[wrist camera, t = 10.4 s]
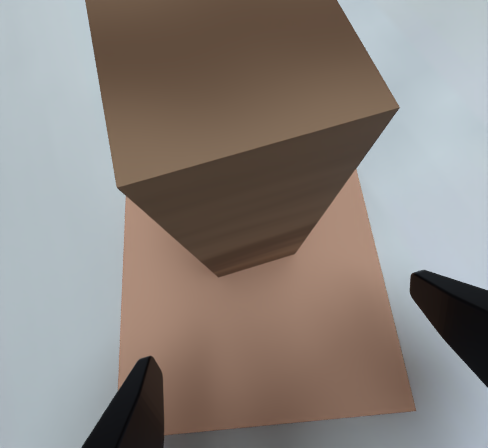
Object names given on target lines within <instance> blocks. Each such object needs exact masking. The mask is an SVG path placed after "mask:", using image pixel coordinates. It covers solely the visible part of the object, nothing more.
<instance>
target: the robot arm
mask: <svg viewBox="0 0 488 448" xmlns="http://www.w3.org/2000/svg"><path fill="white" fill-rule="evenodd" d="M410 294H411V297H412V298H413V300H414V301H415V302H416V304H417V305H418V306H419V308H420V309H421V310H422V312H423V313H424V314H425V316H426V317H427V318H428V320H429V321H430V322H431V324H432V325H433V326H434V328H435V329H436V330H437V332H438V333H439V334H440V335H441V337H442V338H443V339H444V340H445V341H446V342H447V343H448V345H449V346H450V347H451V348H452V349H453V350H454V351H455V352H456V353H457V354H458V356H459V357H460V358H461V359H462V360H463V361H464V362H465V363H466V364H467V365H468V367H469V368H470V369H471V370H472V371H473V372H474V373H475V374H476V375H477V376H478V377H479V379H480V380H481V381H482V382H483V383H484V384H485V385H486V386H487V387H488V290H485V289H482V288H479V287H476V286H473V285H469V284H466V283H463V282H460V281H457V280H454V279H451V278H448V277H445V276H442V275H439V274H436V273H432V272H429V271H426V270H421V271H418V272H414V273H412V274H411V278H410ZM163 445H164V394H163V374H162V371H161V369H160V367H159V366H158V364H157V362H156V361H155V359H154V357H153V356H147V357H143V358H140V359H139V360H138V361H137V362H136V364H135V365H134V367H133V368H132V370H131V372H130V373H129V375H128V376H127V378H126V379H125V381H124V382H123V384H122V386H121V387H120V389H119V390H118V392H117V393H116V395H115V396H114V398H113V399H112V401H111V403H110V404H109V406H108V407H107V409H106V410H105V412H104V413H103V415H102V417H101V418H100V420H99V421H98V423H97V424H96V426H95V427H94V429H93V431H92V432H91V434H90V435H89V437H88V438H87V440H86V441H85V443H84V444H83V446H82V448H163Z"/></svg>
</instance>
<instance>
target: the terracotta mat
mask: <svg viewBox="0 0 488 448" xmlns="http://www.w3.org/2000/svg"><path fill="white" fill-rule="evenodd" d="M147 356H153V357H154V359H155V361H156V362H157V364H158V366H159V367H160V369H161V371H162V374H163V394H164V435H173V434H183V433H193V432H204V431H214V430H224V429H235V428H245V427H256V426H266V425H276V424H287V423H297V422H307V421H318V420H328V419H339V418H349V417H359V416H370V415H380V414H390V413H401V412H411V411H416V408H415V404H414V400H413V396H412V392H411V388H410V384H409V380H408V375H407V371H406V367H405V363H404V359H403V355H402V351H401V347H400V343H399V339H398V335H397V331H396V327H395V323H394V319H393V315H392V311H391V307H390V303H389V299H388V295H387V291H386V287H385V283H384V279H383V275H382V271H381V267H380V263H379V259H378V255H377V251H376V247H375V243H374V239H373V235H372V231H371V227H370V222H369V218H368V214H367V210H366V206H365V202H364V198H363V194H362V190H361V186H360V182H359V178H358V174H357V170H356V169H355V171H354V172H353V174H352V175H351V176H350V178H349V179H348V181H347V182H346V183H345V185H344V186H343V188H342V189H341V190H340V192H339V193H338V195H337V196H336V197H335V199H334V200H333V202H332V203H331V204H330V206H329V207H328V209H327V210H326V211H325V213H324V214H323V216H322V217H321V218H320V220H319V221H318V223H317V224H316V225H315V227H314V228H313V230H312V231H311V232H310V234H309V235H308V237H307V238H306V239H305V241H304V242H303V244H302V245H301V246H300V248H299V249H298V251H297V252H296V253H295V254H294V255H291V256H287V257H284V258H281V259H277V260H274V261H271V262H268V263H264V264H261V265H258V266H255V267H251V268H248V269H245V270H242V271H238V272H235V273H232V274H229V275H225V276H222V277H219V278H218V277H217V276H216V275H215V274H214V273H213V272H212V271H210V270H209V269H208V268H207V267H206V266H205V265H204V264H203V263H201V262H200V261H199V260H198V259H197V258H196V257H195V256H194V255H192V254H191V253H190V252H189V251H188V250H187V249H186V248H184V247H183V246H182V245H181V244H180V243H179V242H178V241H177V240H175V239H174V238H173V237H172V236H171V235H170V234H169V233H168V232H166V231H165V230H164V229H163V228H162V227H161V226H160V225H158V224H157V223H156V222H155V221H154V220H153V219H152V218H151V217H149V216H148V215H147V214H146V213H145V212H144V211H143V210H142V209H140V208H139V207H138V206H137V205H136V204H135V203H134V202H132V201H131V200H130V199H129V198H128V197H127V196H126V205H125V230H124V254H123V279H122V303H121V328H120V352H119V377H118V390H119V389H120V387H121V386H122V384H123V382H124V381H125V379H126V378H127V376H128V375H129V373H130V372H131V370H132V368H133V367H134V365H135V364H136V362H137V361H138V360H139V359H140V358H143V357H147Z"/></svg>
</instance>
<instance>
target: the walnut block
mask: <svg viewBox="0 0 488 448" xmlns="http://www.w3.org/2000/svg"><path fill="white" fill-rule="evenodd" d="M85 2H86V8H87V14H88V20H89V26H90V31H91V37H92V43H93V49H94V55H95V61H96V67H97V73H98V79H99V85H100V91H101V97H102V103H103V109H104V114H105V120H106V126H107V132H108V138H109V144H110V150H111V156H112V162H113V168H114V174H115V180H116V186H117V188H118V189H119V190H120V191H121V192H122V193H123V194H125V195H126V196H127V197H128V198H129V199H130V200H131V201H132V202H134V203H135V204H136V205H137V206H138V207H139V208H140V209H142V210H143V211H144V212H145V213H146V214H147V215H148V216H149V217H151V218H152V219H153V220H154V221H155V222H156V223H157V224H158V225H160V226H161V227H162V228H163V229H164V230H165V231H166V232H168V233H169V234H170V235H171V236H172V237H173V238H174V239H175V240H177V241H178V242H179V243H180V244H181V245H182V246H183V247H184V248H186V249H187V250H188V251H189V252H190V253H191V254H192V255H194V256H195V257H196V258H197V259H198V260H199V261H200V262H201V263H203V264H204V265H205V266H206V267H207V268H208V269H209V270H210V271H212V272H213V273H214V274H215V275H216V276H217V277H218V278H219V277H222V276H225V275H229V274H232V273H235V272H238V271H242V270H245V269H248V268H251V267H255V266H258V265H261V264H264V263H268V262H271V261H274V260H277V259H281V258H284V257H287V256H291V255H294V254H295V253H296V252H297V251H298V249H299V248H300V246H301V245H302V244H303V242H304V241H305V239H306V238H307V237H308V235H309V234H310V232H311V231H312V230H313V228H314V227H315V225H316V224H317V223H318V221H319V220H320V218H321V217H322V216H323V214H324V213H325V211H326V210H327V209H328V207H329V206H330V204H331V203H332V202H333V200H334V199H335V197H336V196H337V195H338V193H339V192H340V190H341V189H342V188H343V186H344V185H345V183H346V182H347V181H348V179H349V178H350V176H351V175H352V174H353V172H354V171H355V169H356V168H357V167H358V165H359V164H360V162H361V161H362V160H363V158H364V157H365V155H366V154H367V153H368V151H369V150H370V148H371V147H372V146H373V144H374V143H375V141H376V140H377V139H378V137H379V136H380V134H381V133H382V132H383V130H384V129H385V127H386V126H387V125H388V123H389V122H390V120H391V119H392V118H393V116H394V115H395V113H396V112H397V111H398V109H399V108H400V107H399V105H398V104H397V102H396V100H395V98H394V97H393V95H392V93H391V92H390V90H389V88H388V87H387V85H386V83H385V81H384V80H383V78H382V76H381V75H380V73H379V71H378V70H377V68H376V66H375V64H374V63H373V61H372V59H371V58H370V56H369V54H368V52H367V51H366V49H365V47H364V46H363V44H362V42H361V41H360V39H359V37H358V35H357V34H356V32H355V30H354V29H353V27H352V25H351V24H350V22H349V20H348V18H347V17H346V15H345V13H344V12H343V10H342V8H341V6H340V5H339V3H338V1H337V0H85Z"/></svg>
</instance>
